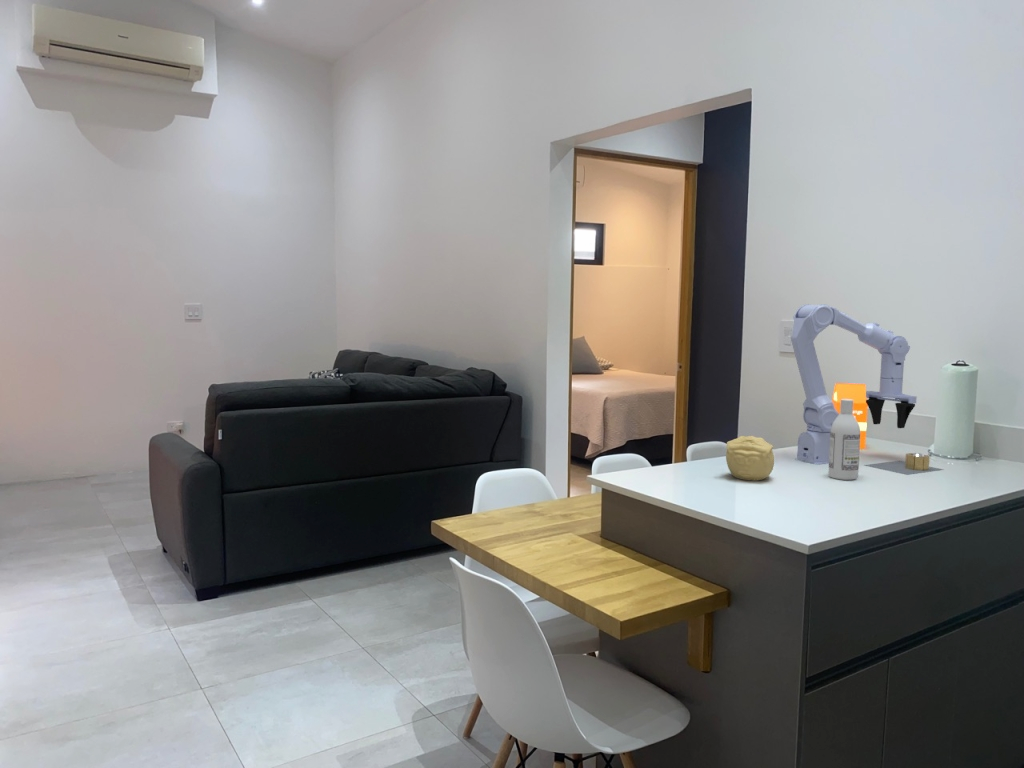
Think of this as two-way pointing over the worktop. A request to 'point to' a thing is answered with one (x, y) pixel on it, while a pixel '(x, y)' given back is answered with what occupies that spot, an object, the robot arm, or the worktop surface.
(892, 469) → the mat
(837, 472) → the bath foam
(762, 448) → the sculpture
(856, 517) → the worktop surface
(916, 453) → the piston post
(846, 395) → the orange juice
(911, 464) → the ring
